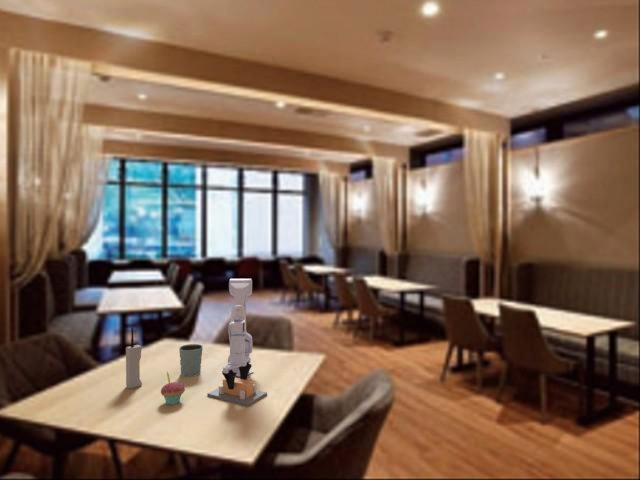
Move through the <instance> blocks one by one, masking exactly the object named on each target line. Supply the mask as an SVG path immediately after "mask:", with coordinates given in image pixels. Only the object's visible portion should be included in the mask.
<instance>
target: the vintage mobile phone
mask: <svg viewBox="0 0 640 480" xmlns="http://www.w3.org/2000/svg"><path fill="white" fill-rule="evenodd" d="M130 331H131V332H130V333H131V338H130V339H131V341H130V342H131V343H130V344H131V345H130V346H126V347H125V375H126V376H125V386H126V388H127V389H130V390H131V389H136V388H140V387H141V386H143V382H142V380H141V379H140V373H141V371H140V370H141V369H140V368H141V367H140V363H141V362H140V361H141V359H142V345H140V344H135V345H134V326H132V327H131V328H130Z"/></svg>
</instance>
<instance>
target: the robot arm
mask: <svg viewBox="0 0 640 480" xmlns="http://www.w3.org/2000/svg"><path fill="white" fill-rule="evenodd" d="M228 290H229V291H228V292H229V293H230V295H231V296H232V297H234V306H233V307H232V308H231V310H230V311H231V313H230V321H229V322H228V326H227V328H228V329H227V330H228V340H229V355H228V358H227V365H225V366H224V367H222V375H223V378H224V379H226V382H227V385H228V389H231V390H233V389H234V381H235V378H236V377H237V378H239V379H244V380H247V379H248V375H251V374H253V373H254V370H251V369H252V366H253V365H252V363H251V362H252V361H251V360H252V359H251V358H252V357H250V354H252V353H253V336H252V335H251V334H250V333H248V332H247V299H248V297H250V296H252V294H253V279H252V278H230V279H229V282H228Z"/></svg>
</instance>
